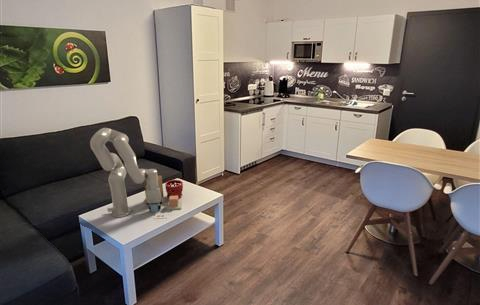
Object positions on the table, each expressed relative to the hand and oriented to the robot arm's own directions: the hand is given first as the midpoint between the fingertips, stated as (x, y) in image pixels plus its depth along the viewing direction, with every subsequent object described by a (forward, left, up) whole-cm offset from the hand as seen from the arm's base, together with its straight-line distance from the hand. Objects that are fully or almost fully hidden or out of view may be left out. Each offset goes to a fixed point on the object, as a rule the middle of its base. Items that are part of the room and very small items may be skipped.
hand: (155, 210), depth 223 cm
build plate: (+13, +5, 0) cm, 14 cm away
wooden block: (-2, +14, -1) cm, 14 cm away
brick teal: (0, 0, -1) cm, 1 cm away
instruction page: (+5, -9, 0) cm, 10 cm away
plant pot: (+12, +21, -1) cm, 24 cm away
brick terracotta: (+13, +5, +1) cm, 14 cm away
